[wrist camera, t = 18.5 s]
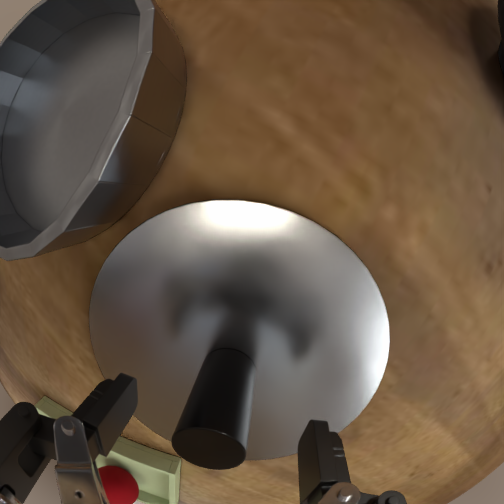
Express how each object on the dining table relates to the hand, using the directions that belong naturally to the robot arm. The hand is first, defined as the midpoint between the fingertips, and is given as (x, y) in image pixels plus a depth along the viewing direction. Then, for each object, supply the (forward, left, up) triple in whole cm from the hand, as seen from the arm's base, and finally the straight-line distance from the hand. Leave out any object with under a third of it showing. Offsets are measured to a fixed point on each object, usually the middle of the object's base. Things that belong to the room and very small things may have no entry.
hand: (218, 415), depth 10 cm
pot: (-14, +13, -5) cm, 20 cm away
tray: (-10, -18, -5) cm, 21 cm away
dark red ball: (-9, -19, -2) cm, 21 cm away
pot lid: (0, 0, -4) cm, 4 cm away
